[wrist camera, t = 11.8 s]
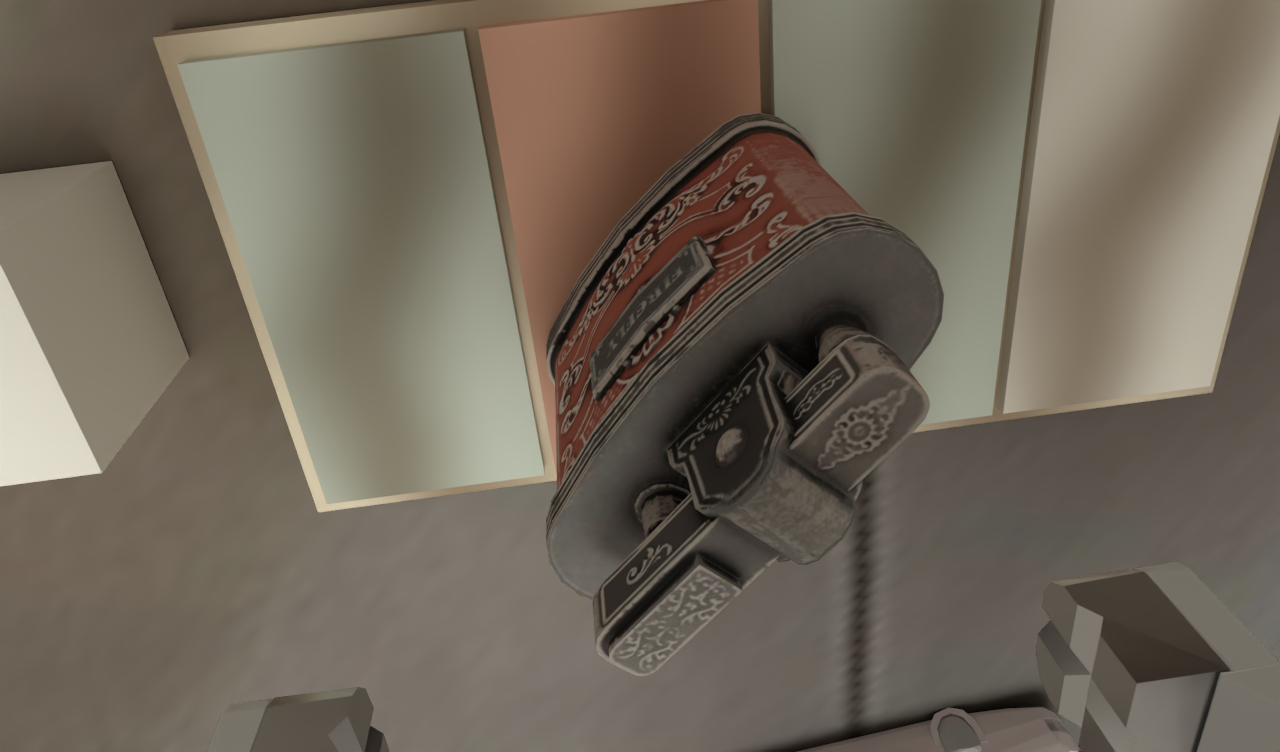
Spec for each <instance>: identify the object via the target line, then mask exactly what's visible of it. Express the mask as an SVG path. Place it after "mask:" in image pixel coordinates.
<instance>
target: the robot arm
mask: <svg viewBox="0 0 1280 752" xmlns="http://www.w3.org/2000/svg"><path fill="white" fill-rule="evenodd" d="M1042 607H1043V609H1044V610H1045V612H1046V613H1047V615H1048V616H1049V618H1050V619H1051V620H1050V621H1049V623H1048V624H1047V625H1046V626H1045V627H1044V628H1043V629H1042V630H1041V631H1040V632H1039V633H1038V637H1037V647H1036V659H1037V665H1038V670H1039V675H1040V679H1041V681H1042V684H1043V686H1044V688H1045V691H1046V693H1047V696H1048V697H1049V699H1050V701H1051V702H1052V704H1053V706H1054V707H1055V709H1056V711H1057V712H1058V714H1060V715H1062V716H1063V717H1065V718H1066V719H1068V720H1070V721H1071V722H1073V723H1075V724H1076V725H1078V726H1080V727H1081V733H1080V739H1079V745H1078V746H1079V748H1080V749H1081V751H1082V752H1280V662H1279V661H1278V660H1277V659H1276V658H1275V657H1274V656H1273V655H1272V654H1271V653H1270V652H1269V651H1268V650H1267V649H1266V648H1265V647H1264V646H1263V645H1262V644H1261V643H1260V642H1259V641H1258V640H1257V639H1256V638H1255V636H1254V635H1253V634H1252V633H1251V632H1250V631H1249V630H1248V629H1247V628H1246V627H1245V626H1244V625H1243V624H1242V623H1241V622H1240V621H1239V620H1238V619H1237V618H1236V617H1235V616H1234V615H1233V614H1232V613H1231V612H1230V611H1229V609H1228V608H1227V607H1226V606H1225V605H1224V604H1223V603H1222V602H1221V601H1220V600H1219V599H1218V598H1217V597H1216V596H1215V595H1214V594H1213V593H1212V592H1211V591H1210V590H1209V589H1208V588H1207V587H1206V586H1205V585H1204V583H1203V582H1202V581H1201V580H1200V579H1199V578H1198V577H1197V576H1196V575H1195V574H1194V573H1193V572H1192V571H1191V570H1190V569H1189V568H1188V567H1186V566H1184V565H1182V564H1180V563H1178V562H1172V563H1166V564H1159V565H1153V566H1147V567H1141V568H1135V569H1133V570H1129V569H1127V570H1121V571H1115V572H1109V573H1102V574H1096V575H1090V576H1084V577H1078V578H1072V579H1065V580H1059V581H1053V582H1050V584H1049V585H1048V587H1047V588H1046V589H1045V591H1044V597H1043V603H1042ZM372 713H373V705H372V703H371V701H370V698H369V696H368V694H367V691H366V689H365V688H360V687H356V688H348V689H340V690H332V691H324V692H316V693H308V694H300V695H292V696H284V697H276V698H274V699H266V700H258V701H250V702H243V703H235V704H231V705H230V706H229V707H228V708H227V709H226V710H225V711H224V713H223V714H222V715H221V716H220V719H219V721H218V724H217V726H216V729H215V731H214V733H213V736H212V738H211V741H210V743H209V746H208V748H207V751H206V752H389V748H388V745H387V742H386V740H385V737H384V734H383V733H381V732H380V731H378V730H376V729H375V728H373V727H372V726H370V723H371V718H372Z"/></svg>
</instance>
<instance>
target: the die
mask: <svg viewBox="0 0 1280 752" xmlns="http://www.w3.org/2000/svg"><path fill="white" fill-rule="evenodd" d="M189 358H190V357H189V355H188V352H187V350H186V347H185V345H184V342H183V340H182V337H181V334H180V332H179V329H178V327H177V324H176V322H175V319H174V317H173V314H172V312H171V309H170V307H169V304H168V302H167V299H166V297H165V294H164V291H163V289H162V286H161V284H160V281H159V279H158V276H157V274H156V271H155V269H154V266H153V264H152V261H151V259H150V256H149V254H148V251H147V249H146V246H145V243H144V241H143V238H142V236H141V233H140V231H139V228H138V226H137V223H136V221H135V218H134V216H133V213H132V211H131V208H130V206H129V203H128V201H127V198H126V195H125V193H124V190H123V188H122V185H121V183H120V180H119V178H118V175H117V173H116V170H115V168H114V165H113V163H112V161H106V162H98V163H89V164H81V165H72V166H64V167H56V168H47V169H39V170H31V171H22V172H14V173H6V174H0V486H7V485H14V484H22V483H30V482H37V481H45V480H52V479H60V478H68V477H75V476H83V475H90V474H98V473H102V472H103V471H104V470H105V468H106V467H107V466H108V464H109V463H110V462H111V460H112V459H113V458H114V457H115V455H116V454H117V453H118V451H119V450H120V449H121V447H122V446H123V445H124V443H125V442H126V441H127V439H128V438H129V437H130V435H131V434H132V433H133V431H134V430H135V429H136V428H137V426H138V425H139V424H140V422H141V421H142V420H143V418H144V417H145V416H146V414H147V413H148V412H149V410H150V409H151V408H152V406H153V405H154V404H155V403H156V401H157V400H158V399H159V397H160V396H161V395H162V393H163V392H164V391H165V389H166V388H167V387H168V385H169V384H170V383H171V381H172V380H173V379H174V378H175V376H176V375H177V374H178V372H179V371H180V370H181V368H182V367H183V366H184V364H185V363H186V362H187V360H188V359H189Z"/></svg>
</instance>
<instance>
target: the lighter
mask: <svg viewBox="0 0 1280 752" xmlns="http://www.w3.org/2000/svg"><path fill="white" fill-rule="evenodd" d="M943 303H944V292H943V289H942V285H941V282H940V279H939V275H938V272H937V269H936V268H935V267H934V266H933V264H932V263H931V262H930V260H929V259H928V258H927V257H926V255H925V254H924V253H923V251H922V250H921V249H920V248H919V247H918V246H917V245H916V244H915V243H914V242H913V241H912V240H911V239H910V238H909V237H908V236H907V235H906V234H905V233H904V232H902V231H901V230H899V229H897V228H896V227H894V226H893V225H891V224H889V223H888V222H886V221H884V220H883V219H881V218H879V217H874V216H870V215H869V214H868V213H867V212H866V211H865V210H864V209H863V208H862V207H861V206H860V205H859V204H858V203H857V202H856V201H855V200H854V199H853V198H852V197H851V196H850V195H849V194H848V193H847V192H846V191H845V190H844V189H843V188H842V187H841V186H840V185H839V184H838V183H837V182H836V181H835V180H834V179H833V178H832V177H831V176H830V175H829V174H828V173H827V172H826V171H825V170H824V169H823V168H822V166H821V163H820V160H819V157H818V154H817V152H816V151H815V150H814V148H813V147H812V146H811V145H810V143H809V142H808V141H807V140H806V138H805V137H804V136H803V135H802V134H801V133H800V132H799V131H798V130H797V129H796V128H795V127H793V126H792V125H790V124H788V123H787V122H785V121H784V120H782V119H780V118H779V117H777V116H772V115H768V114H763V113H759V112H757V113H750V114H742V115H738V116H736V117H734V118H732V119H731V120H729V121H727V122H725V123H723V124H722V125H721V126H720V127H718V128H717V129H716V130H715V131H714V132H712V133H711V134H710V135H709V136H708V137H706V138H705V139H704V140H703V141H702V142H700V143H699V144H698V145H697V146H696V147H694V148H693V149H692V150H691V151H690V152H688V153H687V154H686V155H685V156H684V157H682V158H681V159H680V160H679V161H678V162H676V163H675V164H674V165H673V166H672V167H670V168H669V169H668V170H667V171H666V172H665V173H664V174H663V175H662V176H661V177H660V178H659V180H658V181H657V182H656V183H655V184H654V185H653V186H652V187H651V188H650V189H649V190H648V191H647V192H646V193H645V194H644V195H643V196H642V197H641V198H640V200H639V201H638V202H637V203H636V204H635V205H634V206H633V207H632V208H631V209H630V210H629V211H628V212H627V213H626V214H625V215H624V216H623V217H622V218H621V219H620V221H619V222H618V223H617V224H616V226H615V227H614V229H613V230H612V231H611V233H610V234H609V236H608V237H607V238H606V240H605V241H604V243H603V244H602V245H601V247H600V248H599V250H598V251H597V252H596V254H595V255H594V257H593V258H592V259H591V261H590V262H589V264H588V265H587V266H586V268H585V269H584V271H583V272H582V273H581V275H580V276H579V278H578V280H577V282H576V283H575V285H574V287H573V289H572V291H571V293H570V294H569V296H568V298H567V300H566V302H565V304H564V305H563V307H562V309H561V311H560V313H559V315H558V317H557V318H556V320H555V322H554V324H553V326H552V328H551V329H550V333H549V336H548V340H547V343H546V361H547V368H548V375H549V378H550V379H551V381H552V383H553V384H554V386H555V408H556V464H557V492H556V494H555V495H554V497H553V499H552V501H551V504H550V507H549V511H548V514H547V517H546V545H547V551H548V557H549V562H550V565H551V567H552V568H553V570H554V571H555V573H556V574H557V576H558V577H559V579H560V580H561V581H562V582H563V583H564V584H566V585H567V586H568V587H570V588H571V589H572V590H574V591H575V592H576V593H577V594H579V595H581V596H583V597H586V598H589V599H591V600H593V615H594V630H595V646H596V649H597V651H598V653H599V655H600V656H601V657H603V658H604V659H605V660H607V661H608V662H610V663H611V664H613V665H615V666H617V667H619V668H621V669H623V670H625V671H627V672H629V673H632V674H634V675H637V676H647V675H650V674H652V673H653V672H655V671H656V670H657V669H659V668H660V667H661V666H662V665H663V664H664V663H665V662H667V661H668V660H669V659H670V658H671V657H672V656H673V655H674V654H675V653H676V652H677V651H678V650H679V649H681V648H682V647H683V646H684V645H685V644H686V643H687V642H688V641H689V640H690V639H691V638H692V637H693V636H695V635H696V634H697V633H698V632H699V631H700V630H701V629H702V628H703V627H704V626H705V625H706V624H707V623H709V622H710V621H711V620H712V619H713V618H714V617H715V616H716V615H717V614H718V613H719V612H720V611H721V610H723V609H724V608H725V607H726V606H727V605H728V604H729V603H730V602H731V601H732V600H733V599H734V598H736V597H737V596H738V595H739V594H740V593H741V592H742V591H743V590H744V589H745V588H746V587H747V586H748V585H749V584H750V583H751V582H752V581H753V580H755V579H756V578H757V577H758V576H759V575H760V574H761V573H762V572H763V571H764V570H765V569H766V568H767V567H769V566H770V565H771V564H772V563H773V562H774V561H775V560H777V561H779V562H782V561H788V560H792V561H794V562H796V563H797V564H805V565H807V564H809V563H812V562H815V561H817V560H820V559H821V558H822V557H823V556H824V555H825V554H826V553H827V552H828V551H830V550H831V549H832V548H833V547H834V546H835V545H836V544H837V543H838V542H839V541H841V540H842V539H843V537H844V535H845V534H846V532H847V530H848V529H849V527H850V525H851V523H852V520H853V517H854V514H855V503H856V499H857V497H858V494H859V492H860V490H861V487H862V483H863V478H864V477H866V476H867V475H868V474H869V473H870V472H871V471H872V470H873V469H874V468H875V467H876V466H877V465H878V464H880V463H881V462H882V461H883V460H884V459H885V458H886V457H887V456H888V455H889V454H890V453H891V452H892V451H894V450H895V449H896V448H897V447H898V446H899V445H900V444H901V443H902V442H903V441H904V440H905V439H907V438H908V437H909V436H910V435H911V434H912V433H913V432H914V431H915V430H916V429H917V428H918V427H919V425H920V424H921V423H922V422H923V421H924V420H925V418H926V416H927V414H928V411H929V408H930V402H929V397H928V394H927V393H926V392H925V390H924V389H923V388H922V386H921V385H920V384H919V382H918V381H917V380H916V378H915V377H914V376H913V374H912V373H911V372H910V369H911V368H912V367H913V365H914V364H915V363H916V361H917V360H918V359H919V357H920V356H921V355H922V353H923V352H924V351H925V349H926V348H927V347H928V345H929V344H930V343H931V341H932V339H933V337H934V335H935V333H936V331H937V329H938V327H939V325H940V323H941V321H942V313H943Z"/></svg>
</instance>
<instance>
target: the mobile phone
mask: <svg viewBox="0 0 1280 752" xmlns="http://www.w3.org/2000/svg"><path fill="white" fill-rule="evenodd" d="M797 752H1078V748H1077V745H1076V743H1075V741H1074V739H1073V738H1072V737H1071V736H1070V735H1069V733H1068V732H1067V730H1066V729H1065V726H1064V723H1063V722H1062V721H1061V720H1060V719H1059V718H1058V716H1057V715H1056V714H1055V713H1054V712H1052V711H1050V710H1048V709H1046V708H1044V707H1029V708H1008V709H1000V710H992V711H984V712H976V713H968V714H967V713H966V712H965V711H964V710H962V709H956V708H949V707H948V708H946V709H944V710H942V711H940V712H938V713H936V714H934V716H933V719H932V720H929V721H924V722H920V723H916V724H912V725H907V726H903V727H899V728H895V729H890V730H886V731H882V732H878V733H873V734H869V735H865V736H861V737H856V738H852V739H848V740H844V741H839V742H835V743H831V744H826V745H822V746H818V747H814V748H809V749H805V750H801V751H797Z"/></svg>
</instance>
